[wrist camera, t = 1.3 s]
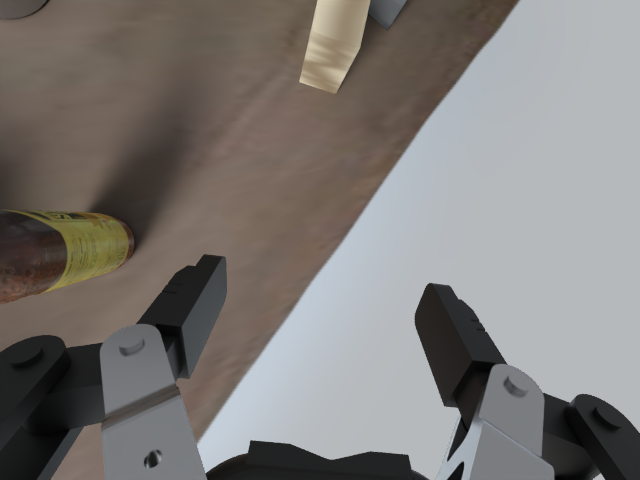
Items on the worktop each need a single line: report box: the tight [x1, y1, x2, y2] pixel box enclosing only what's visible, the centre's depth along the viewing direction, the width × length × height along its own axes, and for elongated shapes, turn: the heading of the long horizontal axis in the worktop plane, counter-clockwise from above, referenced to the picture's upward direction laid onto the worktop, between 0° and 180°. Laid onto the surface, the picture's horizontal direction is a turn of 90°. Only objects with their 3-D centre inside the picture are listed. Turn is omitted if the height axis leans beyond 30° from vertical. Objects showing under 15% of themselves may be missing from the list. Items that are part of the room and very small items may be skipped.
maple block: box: [299, 0, 370, 94], centre depth 29 cm, size 4×4×9 cm
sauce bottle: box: [0, 210, 135, 304], centre depth 21 cm, size 6×6×20 cm
